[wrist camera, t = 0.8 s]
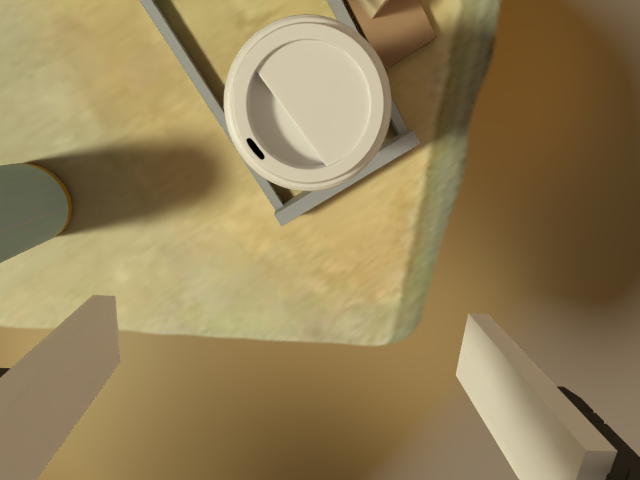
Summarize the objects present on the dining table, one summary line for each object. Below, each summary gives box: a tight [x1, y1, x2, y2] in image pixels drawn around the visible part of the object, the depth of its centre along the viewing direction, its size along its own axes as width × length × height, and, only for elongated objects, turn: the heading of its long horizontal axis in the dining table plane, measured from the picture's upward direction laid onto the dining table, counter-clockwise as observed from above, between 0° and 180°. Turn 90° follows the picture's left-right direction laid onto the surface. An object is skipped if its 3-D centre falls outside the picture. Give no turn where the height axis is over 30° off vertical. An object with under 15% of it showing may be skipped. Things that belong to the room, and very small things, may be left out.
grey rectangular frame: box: [139, 0, 420, 226], centre depth 30 cm, size 22×14×9 cm, turn 31°
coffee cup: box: [224, 14, 392, 191], centre depth 28 cm, size 10×10×15 cm
